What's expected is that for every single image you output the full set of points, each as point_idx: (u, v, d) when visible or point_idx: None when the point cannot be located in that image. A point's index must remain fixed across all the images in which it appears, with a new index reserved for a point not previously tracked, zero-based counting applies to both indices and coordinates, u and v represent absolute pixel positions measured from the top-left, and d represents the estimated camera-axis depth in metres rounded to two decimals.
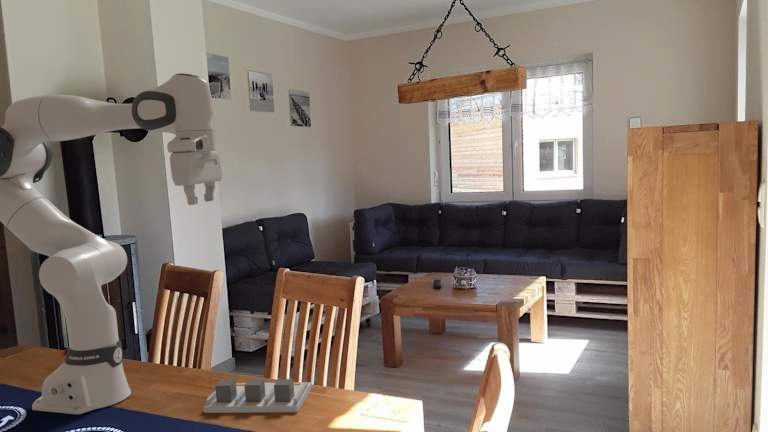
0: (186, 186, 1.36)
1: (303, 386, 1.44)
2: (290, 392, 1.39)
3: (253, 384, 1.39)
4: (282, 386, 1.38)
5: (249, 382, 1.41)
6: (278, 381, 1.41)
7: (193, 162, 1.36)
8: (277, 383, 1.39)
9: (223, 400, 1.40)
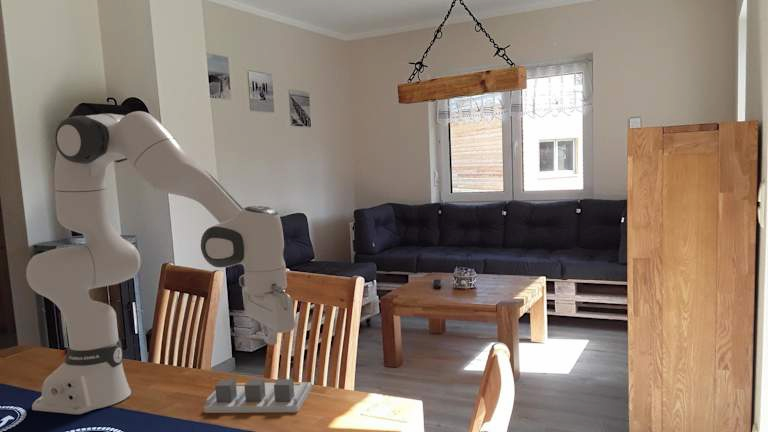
0: None
1: (303, 386, 1.44)
2: (290, 392, 1.39)
3: (253, 384, 1.39)
4: (282, 386, 1.38)
5: (249, 382, 1.41)
6: (278, 381, 1.41)
7: (251, 297, 1.35)
8: (277, 383, 1.39)
9: (223, 400, 1.40)
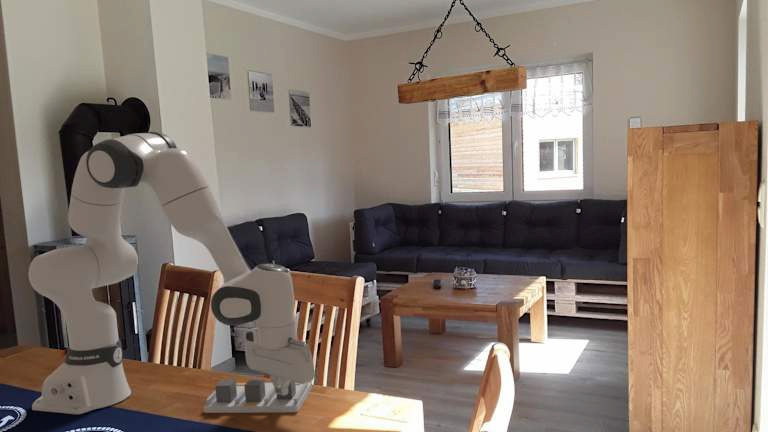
0: None
1: (303, 386, 1.44)
2: (292, 390, 1.40)
3: (253, 384, 1.39)
4: None
5: (249, 382, 1.41)
6: None
7: (257, 350, 1.40)
8: None
9: (223, 400, 1.40)
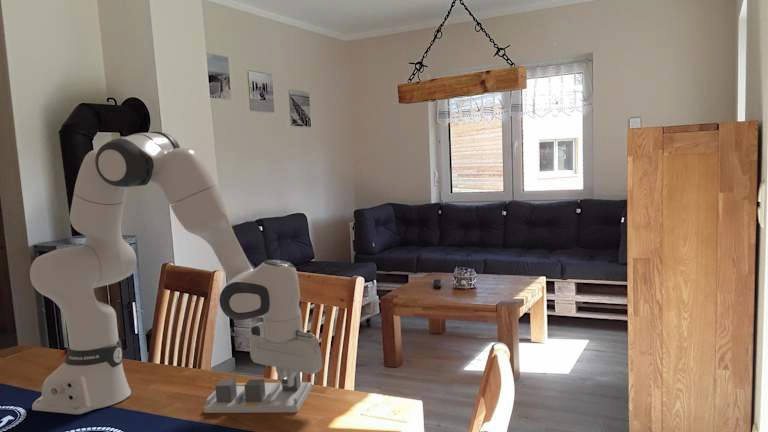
0: None
1: (303, 386, 1.44)
2: (297, 382, 1.45)
3: (253, 384, 1.39)
4: None
5: (249, 382, 1.41)
6: (285, 371, 1.47)
7: (262, 344, 1.44)
8: None
9: (223, 400, 1.40)
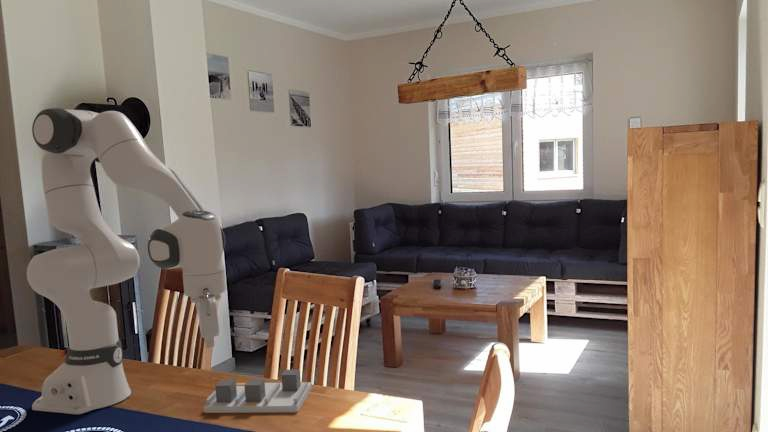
0: None
1: (303, 386, 1.44)
2: (297, 382, 1.45)
3: (253, 384, 1.39)
4: (289, 376, 1.44)
5: (249, 382, 1.41)
6: (285, 371, 1.47)
7: None
8: (284, 373, 1.46)
9: (223, 400, 1.40)
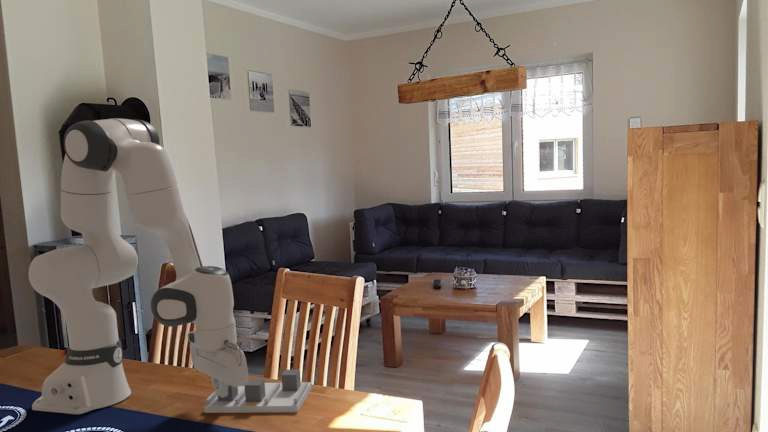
0: None
1: (303, 386, 1.44)
2: (297, 382, 1.45)
3: (253, 384, 1.39)
4: (289, 376, 1.44)
5: (249, 382, 1.41)
6: (285, 371, 1.47)
7: (200, 351, 1.42)
8: (284, 373, 1.46)
9: (224, 399, 1.41)
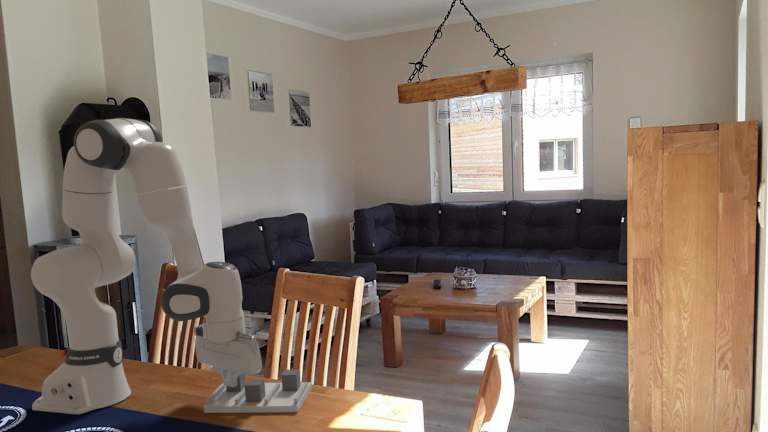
0: None
1: (303, 386, 1.44)
2: (297, 382, 1.45)
3: (253, 384, 1.39)
4: (289, 376, 1.44)
5: (249, 382, 1.41)
6: (285, 371, 1.47)
7: (206, 345, 1.46)
8: (284, 373, 1.46)
9: (233, 389, 1.46)
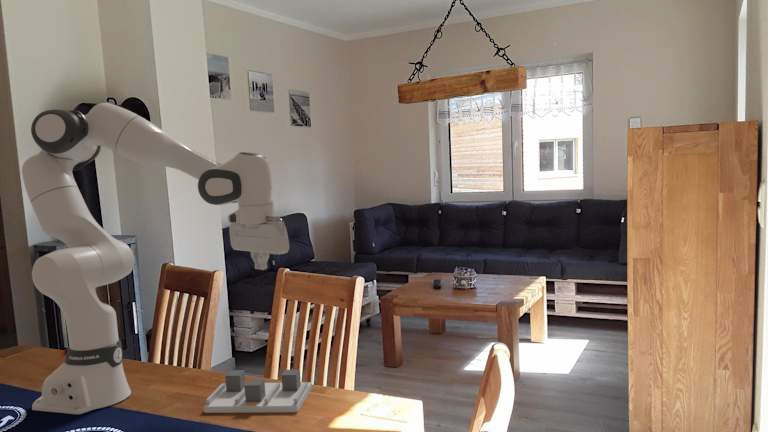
0: None
1: (303, 386, 1.44)
2: (297, 382, 1.45)
3: (253, 384, 1.39)
4: (289, 376, 1.44)
5: (249, 382, 1.41)
6: (285, 371, 1.47)
7: (239, 232, 1.57)
8: (284, 373, 1.46)
9: (233, 389, 1.46)
